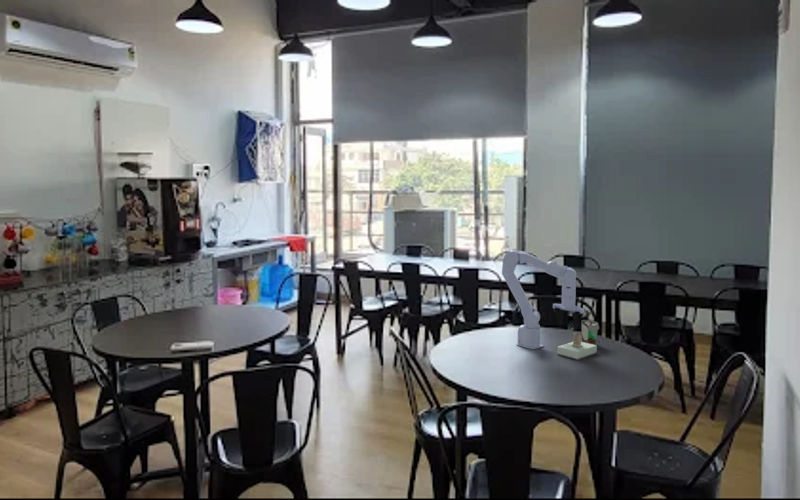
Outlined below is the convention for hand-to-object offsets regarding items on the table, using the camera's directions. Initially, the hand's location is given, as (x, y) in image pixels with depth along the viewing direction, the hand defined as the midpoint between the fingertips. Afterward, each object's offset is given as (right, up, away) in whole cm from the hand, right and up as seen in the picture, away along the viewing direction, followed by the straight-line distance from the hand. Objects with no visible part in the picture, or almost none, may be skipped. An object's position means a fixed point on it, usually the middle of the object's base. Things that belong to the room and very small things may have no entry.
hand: (567, 327), depth 274 cm
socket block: (+2, -11, -6) cm, 12 cm away
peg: (+2, -10, -6) cm, 12 cm away
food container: (+13, -9, +8) cm, 18 cm away
